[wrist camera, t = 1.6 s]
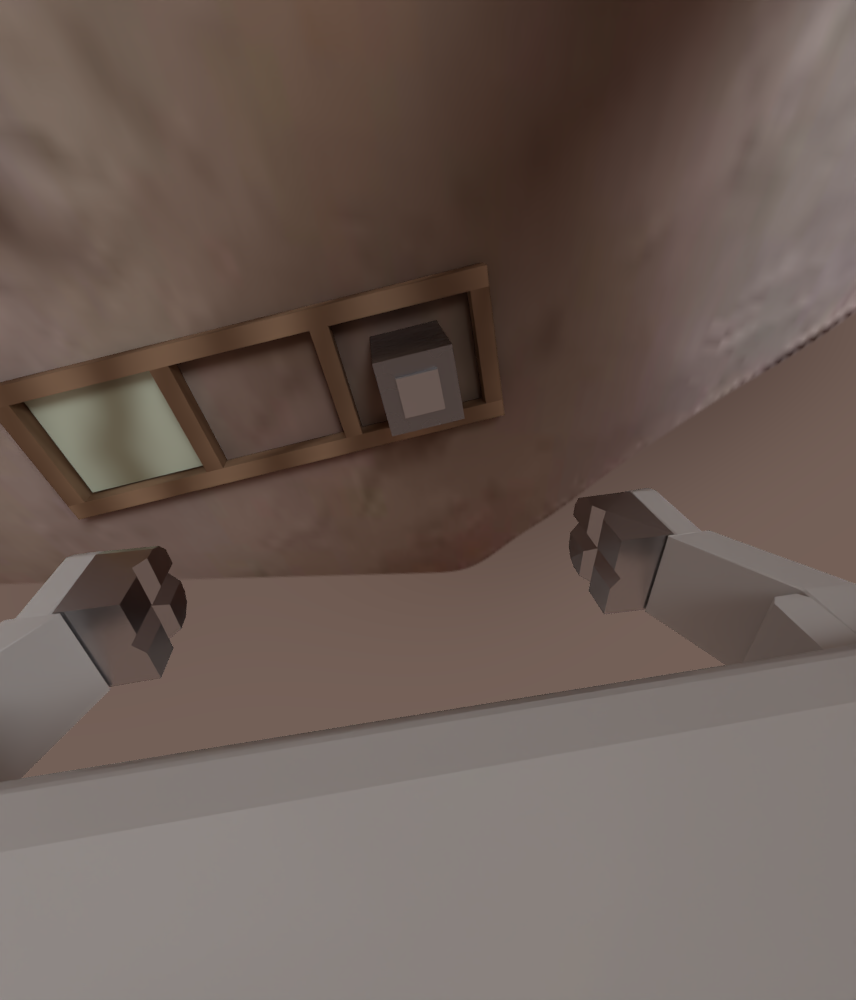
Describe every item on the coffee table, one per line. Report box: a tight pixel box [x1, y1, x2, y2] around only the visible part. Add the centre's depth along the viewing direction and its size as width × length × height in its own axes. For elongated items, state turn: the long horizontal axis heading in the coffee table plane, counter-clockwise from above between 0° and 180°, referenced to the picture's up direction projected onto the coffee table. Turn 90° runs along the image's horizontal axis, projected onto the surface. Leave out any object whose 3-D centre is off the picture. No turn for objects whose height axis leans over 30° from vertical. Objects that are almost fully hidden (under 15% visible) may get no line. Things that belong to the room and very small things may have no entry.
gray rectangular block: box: [370, 320, 465, 436], centre depth 28 cm, size 4×4×6 cm
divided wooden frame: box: [0, 263, 504, 519], centre depth 31 cm, size 32×10×1 cm, turn 102°
